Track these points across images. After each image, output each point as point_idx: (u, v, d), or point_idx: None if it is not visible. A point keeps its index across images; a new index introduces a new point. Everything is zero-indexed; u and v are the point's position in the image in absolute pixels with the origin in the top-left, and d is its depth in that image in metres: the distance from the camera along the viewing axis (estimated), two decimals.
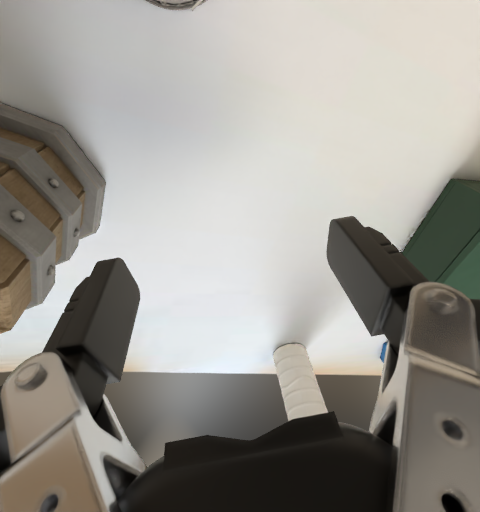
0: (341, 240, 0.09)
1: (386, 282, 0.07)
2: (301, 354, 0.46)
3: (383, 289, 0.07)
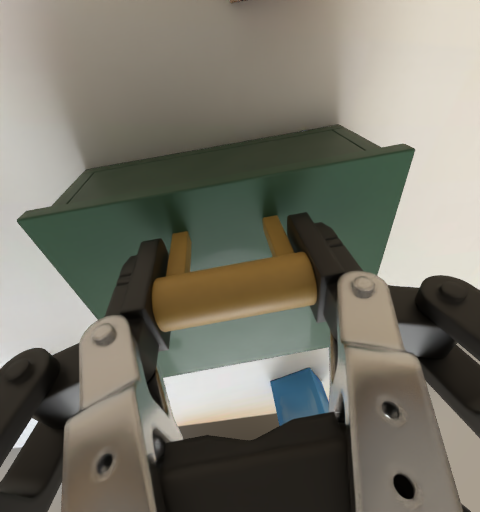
0: (294, 234, 0.09)
1: (320, 271, 0.07)
2: None
3: (319, 278, 0.07)
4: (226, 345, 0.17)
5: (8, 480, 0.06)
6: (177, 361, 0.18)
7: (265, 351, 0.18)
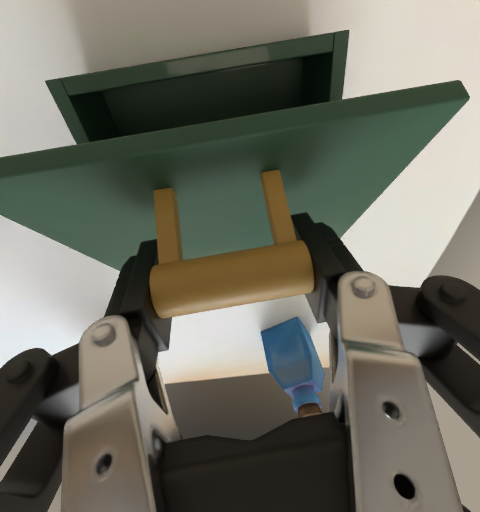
0: None
1: (321, 271, 0.07)
2: None
3: (319, 278, 0.07)
4: None
5: (8, 480, 0.06)
6: None
7: None
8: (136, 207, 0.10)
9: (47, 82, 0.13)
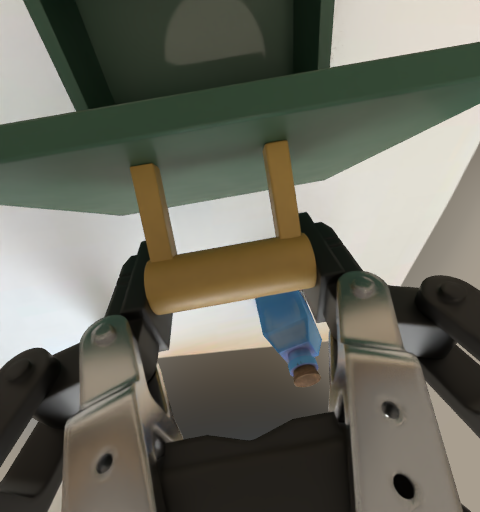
0: None
1: (320, 271, 0.07)
2: None
3: (319, 278, 0.07)
4: (199, 197, 0.17)
5: (8, 480, 0.06)
6: None
7: (237, 193, 0.18)
8: (110, 178, 0.08)
9: None
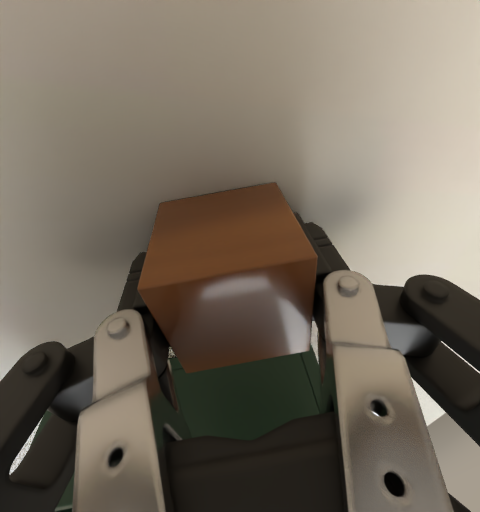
0: None
1: None
2: None
3: None
4: None
5: (22, 469, 0.06)
6: None
7: None
8: None
9: None
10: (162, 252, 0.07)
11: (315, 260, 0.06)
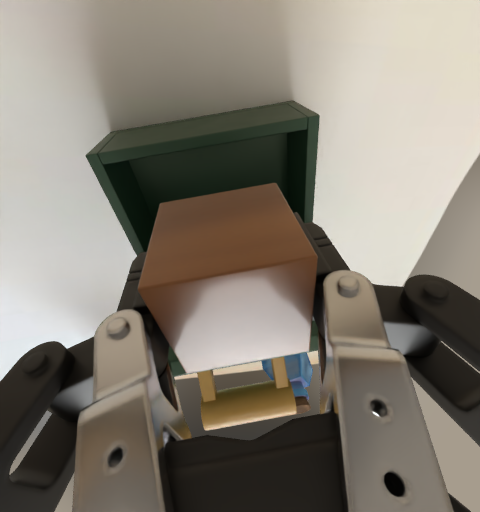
0: None
1: None
2: None
3: None
4: None
5: (22, 469, 0.06)
6: None
7: None
8: None
9: (87, 156, 0.17)
10: (162, 253, 0.07)
11: (315, 260, 0.06)
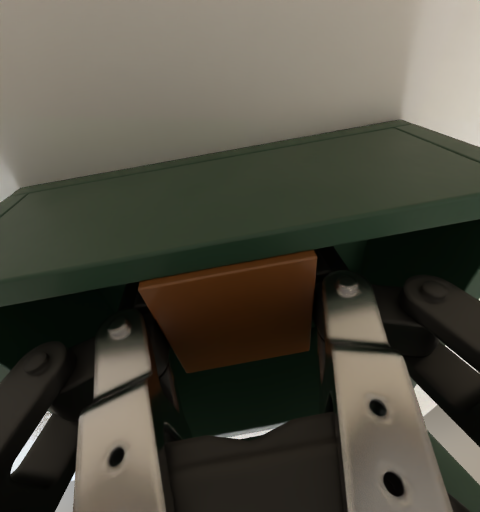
0: None
1: None
2: None
3: None
4: None
5: (23, 468, 0.06)
6: None
7: None
8: None
9: None
10: None
11: (315, 260, 0.06)
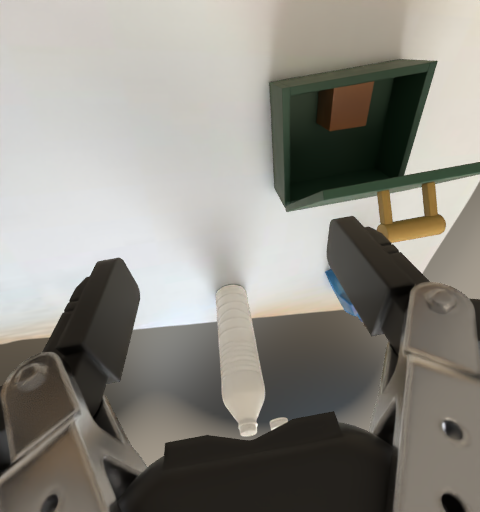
0: (341, 240, 0.09)
1: (386, 282, 0.07)
2: (234, 292, 0.49)
3: (383, 289, 0.07)
4: (342, 201, 0.31)
5: None
6: None
7: None
8: (363, 194, 0.23)
9: (283, 89, 0.25)
10: None
11: (373, 82, 0.27)
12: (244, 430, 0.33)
